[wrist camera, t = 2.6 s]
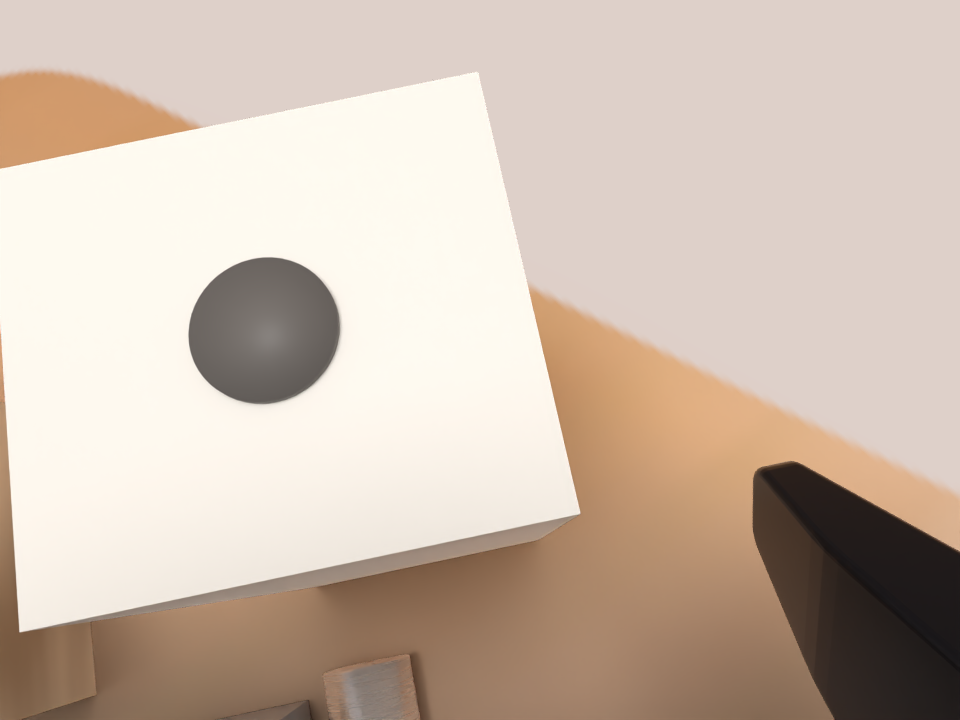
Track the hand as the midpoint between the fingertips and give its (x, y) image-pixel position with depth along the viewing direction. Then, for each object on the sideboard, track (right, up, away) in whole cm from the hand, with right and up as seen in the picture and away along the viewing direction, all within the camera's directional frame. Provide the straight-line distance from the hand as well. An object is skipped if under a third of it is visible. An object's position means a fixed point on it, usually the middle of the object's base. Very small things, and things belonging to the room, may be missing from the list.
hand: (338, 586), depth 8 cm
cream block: (0, 0, +10) cm, 10 cm away
